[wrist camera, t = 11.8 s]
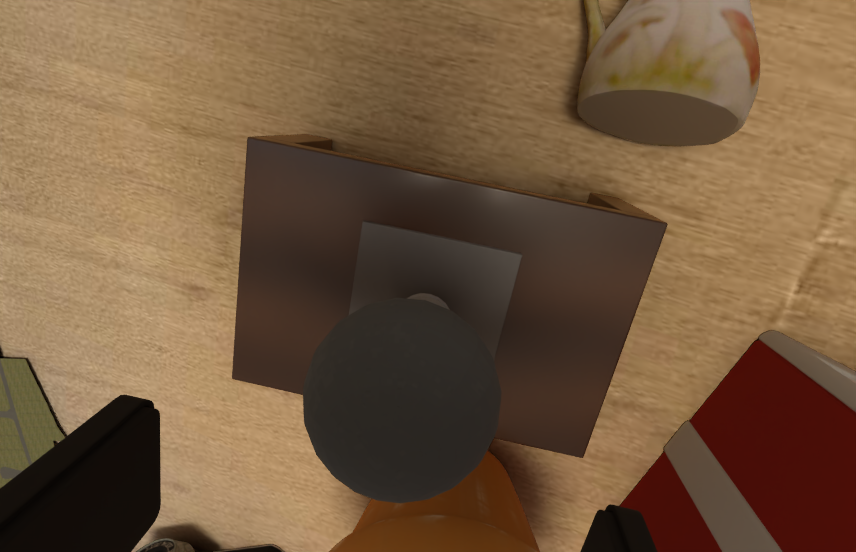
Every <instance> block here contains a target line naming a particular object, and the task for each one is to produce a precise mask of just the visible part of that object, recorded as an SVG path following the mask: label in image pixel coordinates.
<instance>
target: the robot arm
mask: <svg viewBox="0 0 856 552" xmlns="http://www.w3.org/2000/svg"><path fill="white" fill-rule="evenodd" d="M160 504H161V498H160V413H159V411H158V410H157V409H154V404H153V402H152V401H150V400H146V399H142V398H138V397H133V396H129V395H120V396H119V397H117V398H115V399H114V400H113V401H112V402H110V403H109V404H108V405H106V406H105V407H104V408H103V409H101V410H100V411H99V412H98V413H96V414H95V415H94V416H92V417H91V418H90V419H89V420H87V421H86V422H85V423H83V424H82V425H81V426H80V427H78V428H77V429H76V430H74V431H73V432H72V433H71V434H69V435H68V436H67V437H66V438H64V439H63V440H62V441H60V442H59V443H58V444H57V445H55V446H54V447H53V448H51V449H50V450H49V451H48V452H46V453H45V454H44V455H42V456H41V457H40V458H39V459H37V460H36V461H35V462H34V463H32V464H31V465H30V466H28V467H27V468H26V469H25V470H23V471H22V472H21V473H19V474H18V475H17V476H16V477H14V478H13V479H12V480H10V481H9V482H8V483H7V484H5V485H4V486H3V487H2V488H0V552H131V551H132V550H133V549H134V547H135V546H136V545H137V543H138V542H139V541H140V540H141V538H142V537H143V536H144V535H145V533H146V532H147V531H148V530H149V528H150V527H151V526H152V524H153V523H154V522H155V520H156V518H157V516H158V513H159V510H160ZM581 552H657V549H656V547H655V544H654V542H653V540H652V537H651V535H650V532H649V530H648V527H647V525H646V523H645V520H644V518H643V516H642V514H641V513H640V512H639V511H638V510H633V509H629V508H625V507H620V506H616V505H608V506H607V507H606V509H605V511H603V510H599V511H597V513H596V515H595V518H594V520H593V523H592V525H591V527H590V530H589V532H588V535H587V537H586V540H585V542H584V545H583V547H582V550H581Z"/></svg>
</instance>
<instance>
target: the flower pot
mask: <svg viewBox="0 0 856 552" xmlns="http://www.w3.org/2000/svg"><path fill="white" fill-rule="evenodd" d="M329 552H540V551H539V548H538V546H537V543H536V540H535V538H534V535H533V533H532V530H531V528H530V525H529V523H528V520H527V518H526V515H525V513H524V510H523V508H522V506H521V503H520V501H519V499H518V496H517V494H516V491H515V489H514V487H513V484H512V482H511V480H510V478H509V476H508V474H507V472H506V470H505V468H504V467H503V465H502V464H501V463H500V462H499V460H498V459H497V458H496V457H495V456H494V455H493V454H491V453H490V452H489V451H487V452H486V454H485V456H484V458H483V459H482V461H481V462H480V464H479V465H478V466H477V467H476V468H475V469H474V470H473V471H472V472H471V473H470V474H469V475H468V476H467V477H465V478H464V479H463V480H462V481H461V482H460V483H459V484H458V485H456V486H455V487H454V488H452V489H450V490H448V491H446V492H444V493H441V494H439V495H437V496H435V497H432V498H430V499H427V500H421V501H414V502H407V503H393V502H385V501H377V500H374V499H371V501H370V503H369V504H368V506H367V508H366V509H365V511H364V513H363V515H362V517H361V518H360V520H359V522H358V524H357V526H356V527H355V529H354V531H353V533H351V534H350V535H348V536H347V537H345V538H344V539H342V540H341V541H340V542H339V543H337V544H336V545H335V546H334V547H333V548H332V549H331V550H330V551H329Z"/></svg>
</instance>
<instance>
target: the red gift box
mask: <svg viewBox="0 0 856 552" xmlns="http://www.w3.org/2000/svg"><path fill="white" fill-rule="evenodd" d="M620 507H625V508H629V509H633V510H638V511H639V512H640V513H641V514H642V516H643V518H644V520H645V523H646V525H647V527H648V530H649V532H650V535H651V537H652V540H653V542H654V544H655V547H656V549H657V552H856V371H854V370H852V369H850V368H848V367H846V366H844V365H842V364H840V363H838V362H836V361H834V360H832V359H831V358H829V357H827V356H825V355H823V354H821V353H819V352H817V351H815V350H813V349H811V348H809V347H807V346H805V345H803V344H801V343H799V342H797V341H795V340H793V339H791V338H790V337H788V336H786V335H784V334H782V333H780V332H777V331H767V332H765V333H763V334H762V335H760V336H759V341H755V342H754V343H753V344H752V345H751V347H750V348H749V349H748V350H747V352H746V353H745V354H744V355H743V356H742V358H741V359H740V360H739V361H738V363H737V364H736V365H735V366H734V367H733V369H732V370H731V371H730V372H729V373H728V375H727V376H726V377H725V378H724V380H723V381H722V382H721V383H720V384H719V386H718V387H717V388H716V389H715V391H714V392H713V393H712V394H711V395H710V397H709V398H708V399H707V400H706V401H705V403H704V404H703V405H702V406H701V408H700V409H699V410H698V411H697V412H696V414H695V415H694V416H693V417H692V419H691V420H690V421H686V422H685V423H684V424H683V425H682V426H681V427H680V429H679V430H678V431H677V432H676V433H675V435H674V436H673V437H672V438H671V440H670V441H669V442H668V443H667V444H666V446H665V447H664V453H663V454H662V455H661V456H660V458H659V459H658V460H657V461H656V462H655V464H654V465H653V466H652V467H651V468H650V470H649V471H648V472H647V473H646V475H645V476H644V477H643V478H642V479H641V481H640V482H639V483H638V484H637V486H636V487H635V488H634V489H633V490H632V492H631V493H630V494H629V495H628V496H627V498H626V499H625V500H624V501H623V503H622V504H621V505H620Z"/></svg>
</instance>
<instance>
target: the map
mask: <svg viewBox="0 0 856 552" xmlns="http://www.w3.org/2000/svg"><path fill="white" fill-rule="evenodd" d="M64 438H65V437H64V436H63V434H62V433H61V431H60V430H59V428H58V427H57V425H56V423H55V420H54V418H53V416H52V414H51V412H50V410H49V407H48V405H47V403H46V401H45V400H44V397H43V395H42V393H41V391H40V388H39V387H38V385H37V383H36V381H35V378H34V376H33V374H32V373H31V371H30V368H29V366H28V364H27V362H26V359H3V358H0V488H2V487H3V486H4V485H5V484H7V483H8V482H9V481H10V480H12V479H13V478H14V477H16V476H17V475H18V474H19V473H21V472H22V471H23V470H25V469H26V468H27V467H28V466H30V465H31V464H32V463H34V462H35V461H36V460H37V459H39V458H40V457H41V456H42V455H44V454H45V453H46V452H48V451H49V450H50V449H51V448H53V447H54V443H53V441H62V440H63V439H64Z"/></svg>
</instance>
